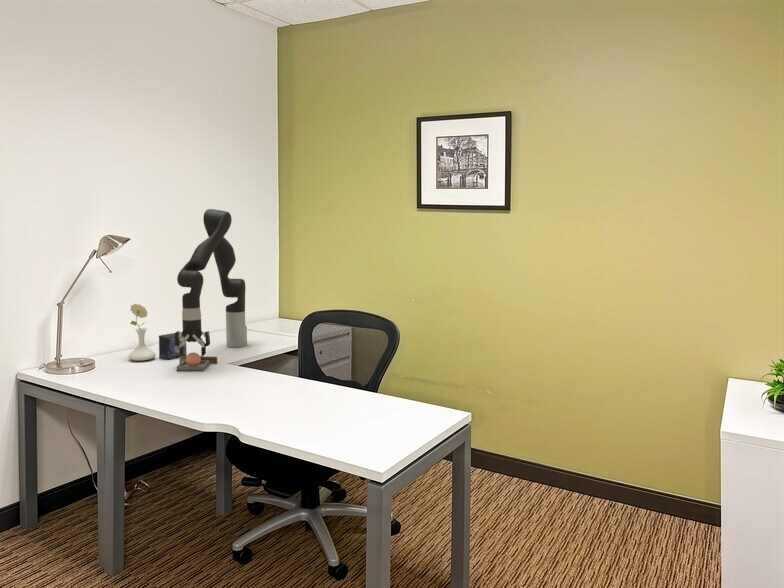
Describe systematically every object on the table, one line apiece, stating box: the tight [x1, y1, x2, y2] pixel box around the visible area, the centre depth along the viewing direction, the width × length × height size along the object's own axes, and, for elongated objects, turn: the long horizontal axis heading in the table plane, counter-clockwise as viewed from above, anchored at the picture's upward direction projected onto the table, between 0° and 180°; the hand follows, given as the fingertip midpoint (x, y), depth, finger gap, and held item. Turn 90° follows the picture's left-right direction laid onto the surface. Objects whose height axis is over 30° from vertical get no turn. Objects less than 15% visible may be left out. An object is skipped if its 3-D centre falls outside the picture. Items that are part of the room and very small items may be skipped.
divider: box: [179, 355, 218, 365], centre depth 279 cm, size 1×16×3 cm, turn 92°
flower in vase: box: [128, 303, 157, 362], centre depth 284 cm, size 13×11×25 cm
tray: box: [175, 360, 211, 372], centre depth 271 cm, size 11×11×2 cm
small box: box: [158, 332, 188, 361], centre depth 290 cm, size 11×6×10 cm, turn 143°
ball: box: [186, 352, 201, 366], centre depth 271 cm, size 6×6×6 cm
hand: (192, 355), depth 271 cm, fingers open, 8 cm apart
